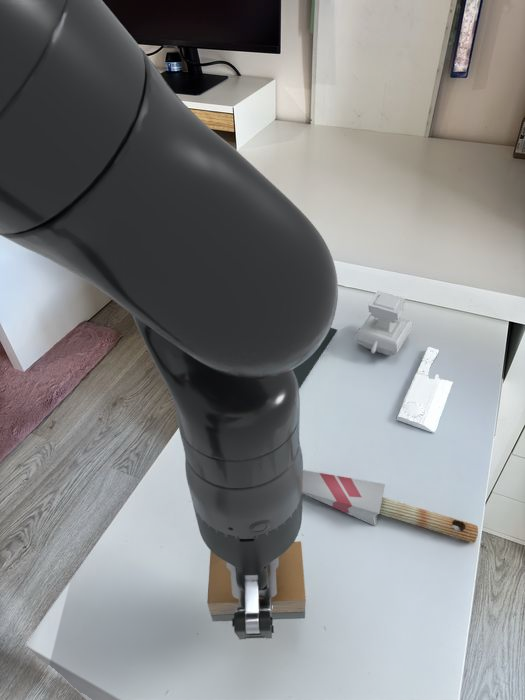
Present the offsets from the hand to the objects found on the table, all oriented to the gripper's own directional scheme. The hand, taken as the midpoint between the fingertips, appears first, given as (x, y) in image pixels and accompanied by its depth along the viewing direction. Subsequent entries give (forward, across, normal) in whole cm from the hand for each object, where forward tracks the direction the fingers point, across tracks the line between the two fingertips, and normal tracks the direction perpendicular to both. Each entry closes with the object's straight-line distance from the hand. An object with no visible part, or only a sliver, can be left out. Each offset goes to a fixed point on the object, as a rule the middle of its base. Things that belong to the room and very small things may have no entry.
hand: (258, 588), depth 45 cm
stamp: (+6, -39, +19) cm, 44 cm away
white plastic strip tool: (+6, -29, +24) cm, 38 cm away
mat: (+6, -33, +3) cm, 34 cm away
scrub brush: (0, 0, 0) cm, 0 cm away
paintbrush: (+7, -11, +14) cm, 19 cm away
